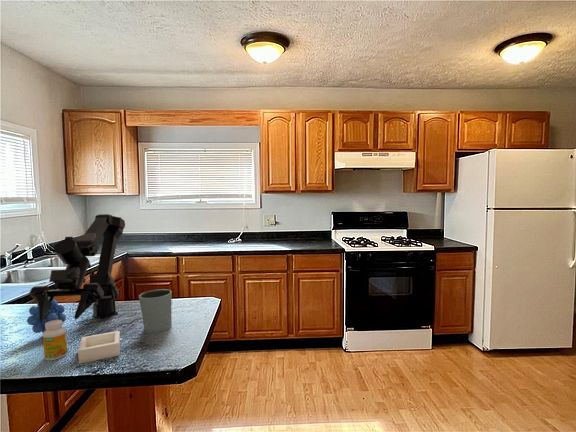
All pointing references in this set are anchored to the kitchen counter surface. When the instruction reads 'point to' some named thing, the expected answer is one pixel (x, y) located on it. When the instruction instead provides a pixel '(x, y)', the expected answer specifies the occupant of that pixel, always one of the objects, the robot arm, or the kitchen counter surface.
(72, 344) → the kitchen counter surface
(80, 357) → the cream square tray
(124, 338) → the kitchen counter surface
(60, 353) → the supplement bottle
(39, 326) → the grapes
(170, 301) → the grey green cup
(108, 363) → the kitchen counter surface
